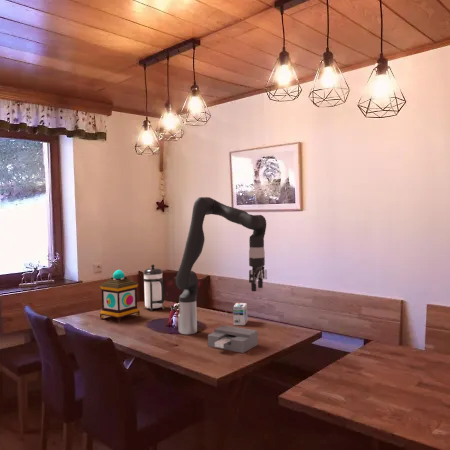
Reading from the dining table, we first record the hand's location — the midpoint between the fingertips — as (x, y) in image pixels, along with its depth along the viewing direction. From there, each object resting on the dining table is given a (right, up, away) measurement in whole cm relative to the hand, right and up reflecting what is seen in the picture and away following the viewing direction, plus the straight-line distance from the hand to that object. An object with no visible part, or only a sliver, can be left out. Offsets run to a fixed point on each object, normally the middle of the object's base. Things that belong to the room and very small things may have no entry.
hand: (257, 289), depth 214 cm
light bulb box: (-7, -26, +43) cm, 51 cm away
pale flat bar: (-15, -26, -2) cm, 29 cm away
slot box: (-12, -28, +2) cm, 30 cm away
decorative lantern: (-81, -27, +61) cm, 105 cm away
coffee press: (-62, -25, +82) cm, 106 cm away
